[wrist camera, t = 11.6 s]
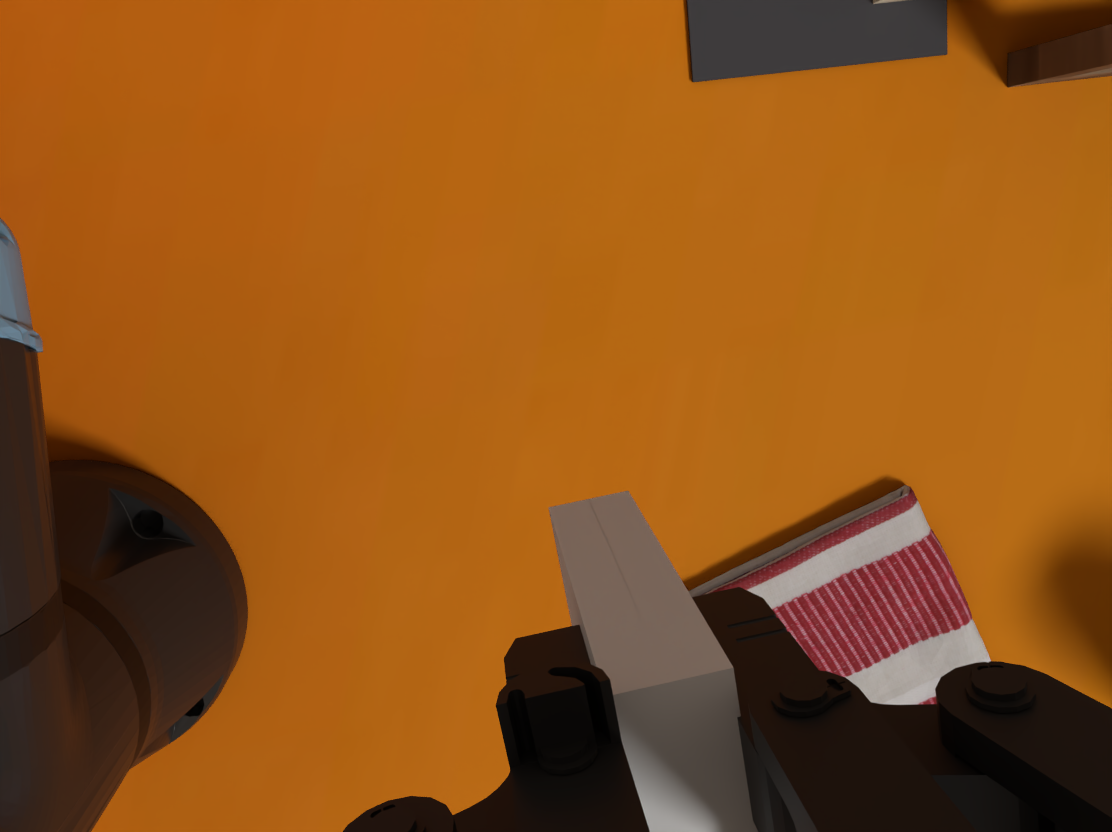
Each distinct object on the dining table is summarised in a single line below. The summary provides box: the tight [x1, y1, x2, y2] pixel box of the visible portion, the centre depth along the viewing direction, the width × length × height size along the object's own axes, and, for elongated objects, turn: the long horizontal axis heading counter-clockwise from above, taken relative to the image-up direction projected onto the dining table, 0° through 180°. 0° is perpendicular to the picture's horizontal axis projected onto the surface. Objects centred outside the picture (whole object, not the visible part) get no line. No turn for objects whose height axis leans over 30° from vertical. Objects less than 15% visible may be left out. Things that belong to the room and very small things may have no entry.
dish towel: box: [688, 485, 991, 705], centre depth 49 cm, size 17×23×3 cm
